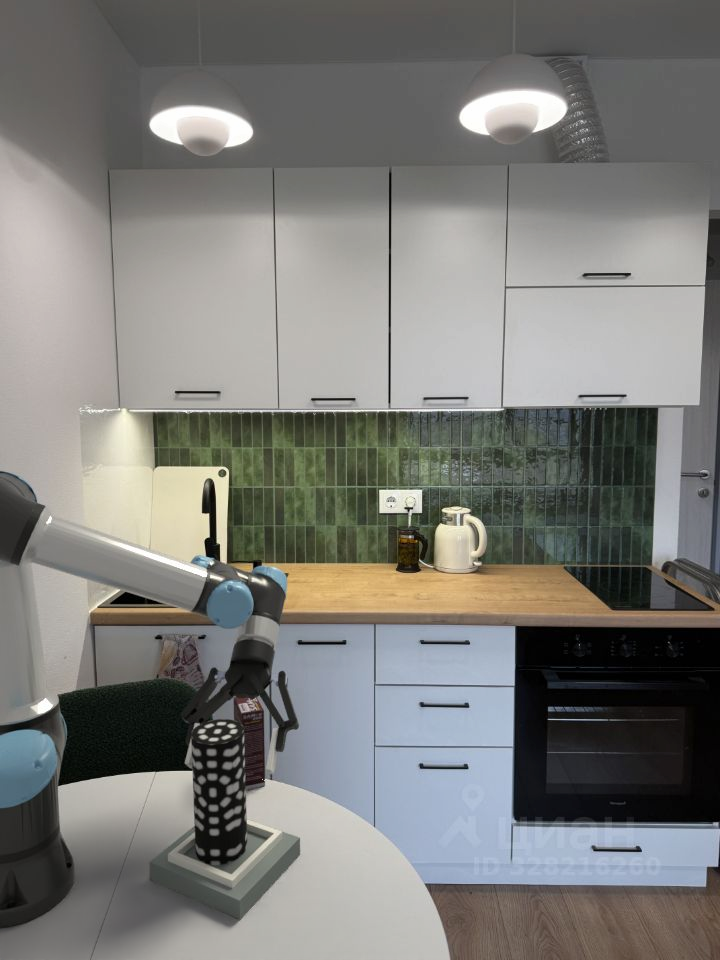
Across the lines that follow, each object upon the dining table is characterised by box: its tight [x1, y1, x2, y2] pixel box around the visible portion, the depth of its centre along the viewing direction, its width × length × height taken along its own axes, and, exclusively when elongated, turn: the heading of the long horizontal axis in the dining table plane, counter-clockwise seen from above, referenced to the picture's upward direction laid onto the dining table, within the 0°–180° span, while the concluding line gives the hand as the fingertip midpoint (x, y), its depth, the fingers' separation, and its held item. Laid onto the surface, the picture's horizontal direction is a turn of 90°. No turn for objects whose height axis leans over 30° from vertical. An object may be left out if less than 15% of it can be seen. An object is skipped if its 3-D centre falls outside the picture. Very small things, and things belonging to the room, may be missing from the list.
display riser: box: [149, 818, 301, 920], centre depth 106 cm, size 18×16×4 cm
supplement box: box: [233, 696, 266, 791], centre depth 132 cm, size 9×5×16 cm, turn 22°
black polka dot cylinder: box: [191, 718, 248, 865], centre depth 105 cm, size 8×8×20 cm
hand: (229, 769), depth 105 cm, fingers open, 13 cm apart
